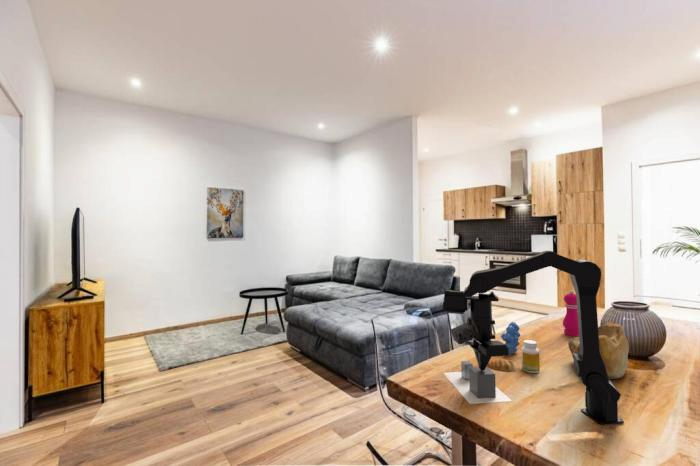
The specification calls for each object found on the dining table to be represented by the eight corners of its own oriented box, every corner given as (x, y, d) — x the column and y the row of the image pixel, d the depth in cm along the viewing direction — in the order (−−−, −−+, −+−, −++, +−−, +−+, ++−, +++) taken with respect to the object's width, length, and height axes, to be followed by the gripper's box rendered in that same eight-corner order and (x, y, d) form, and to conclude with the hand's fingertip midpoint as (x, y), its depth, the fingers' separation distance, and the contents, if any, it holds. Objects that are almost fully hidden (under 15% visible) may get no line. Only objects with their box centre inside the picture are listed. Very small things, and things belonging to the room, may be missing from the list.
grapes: (506, 347, 137) (505, 317, 137) (524, 351, 132) (523, 320, 132) (495, 355, 128) (494, 323, 128) (514, 359, 124) (513, 327, 124)
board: (512, 405, 92) (512, 401, 92) (469, 408, 91) (469, 403, 91) (478, 374, 112) (478, 370, 112) (443, 376, 111) (443, 372, 111)
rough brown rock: (582, 355, 129) (577, 316, 129) (638, 365, 115) (632, 321, 116) (556, 374, 114) (551, 329, 115) (616, 387, 101) (610, 337, 102)
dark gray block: (495, 397, 94) (495, 373, 94) (477, 398, 93) (477, 374, 93) (486, 388, 99) (486, 366, 99) (469, 389, 98) (469, 367, 98)
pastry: (486, 373, 113) (485, 362, 113) (483, 365, 119) (483, 355, 119) (516, 376, 110) (516, 364, 110) (512, 368, 117) (512, 357, 117)
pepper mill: (559, 333, 153) (558, 289, 153) (569, 331, 156) (568, 288, 156) (575, 337, 147) (574, 292, 147) (585, 335, 150) (584, 290, 150)
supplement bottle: (542, 374, 111) (541, 344, 111) (524, 373, 112) (524, 343, 112) (536, 367, 116) (536, 339, 116) (519, 366, 117) (519, 338, 117)
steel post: (473, 379, 105) (472, 364, 105) (464, 380, 105) (464, 364, 105) (469, 376, 107) (469, 360, 107) (461, 376, 107) (461, 361, 107)
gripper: (442, 309, 105) (442, 359, 105) (468, 325, 86) (469, 386, 86) (476, 307, 106) (477, 357, 106) (509, 323, 87) (510, 383, 87)
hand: (482, 369), depth 96 cm, fingers closed
